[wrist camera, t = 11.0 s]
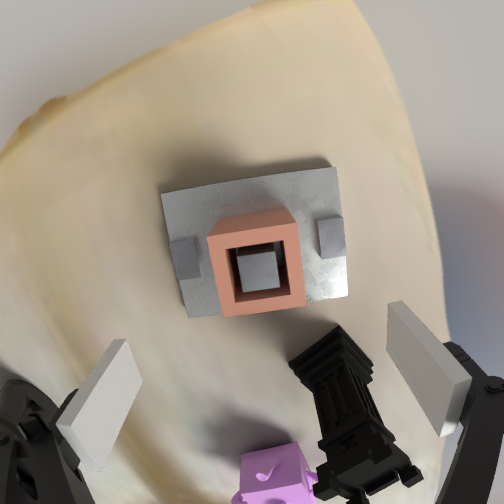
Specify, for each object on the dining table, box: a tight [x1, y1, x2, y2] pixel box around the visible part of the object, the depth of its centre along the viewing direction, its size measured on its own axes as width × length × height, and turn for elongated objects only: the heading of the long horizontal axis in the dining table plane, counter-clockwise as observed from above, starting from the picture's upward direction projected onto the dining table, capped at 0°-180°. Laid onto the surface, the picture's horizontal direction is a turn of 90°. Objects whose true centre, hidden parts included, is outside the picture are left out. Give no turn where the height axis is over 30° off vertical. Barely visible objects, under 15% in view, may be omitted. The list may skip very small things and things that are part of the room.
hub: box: [207, 208, 307, 318], centre depth 30 cm, size 7×7×8 cm
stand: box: [161, 167, 348, 318], centre depth 30 cm, size 18×14×10 cm
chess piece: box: [288, 325, 424, 504], centre depth 29 cm, size 8×8×20 cm
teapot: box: [231, 442, 318, 504], centre depth 39 cm, size 15×13×11 cm
